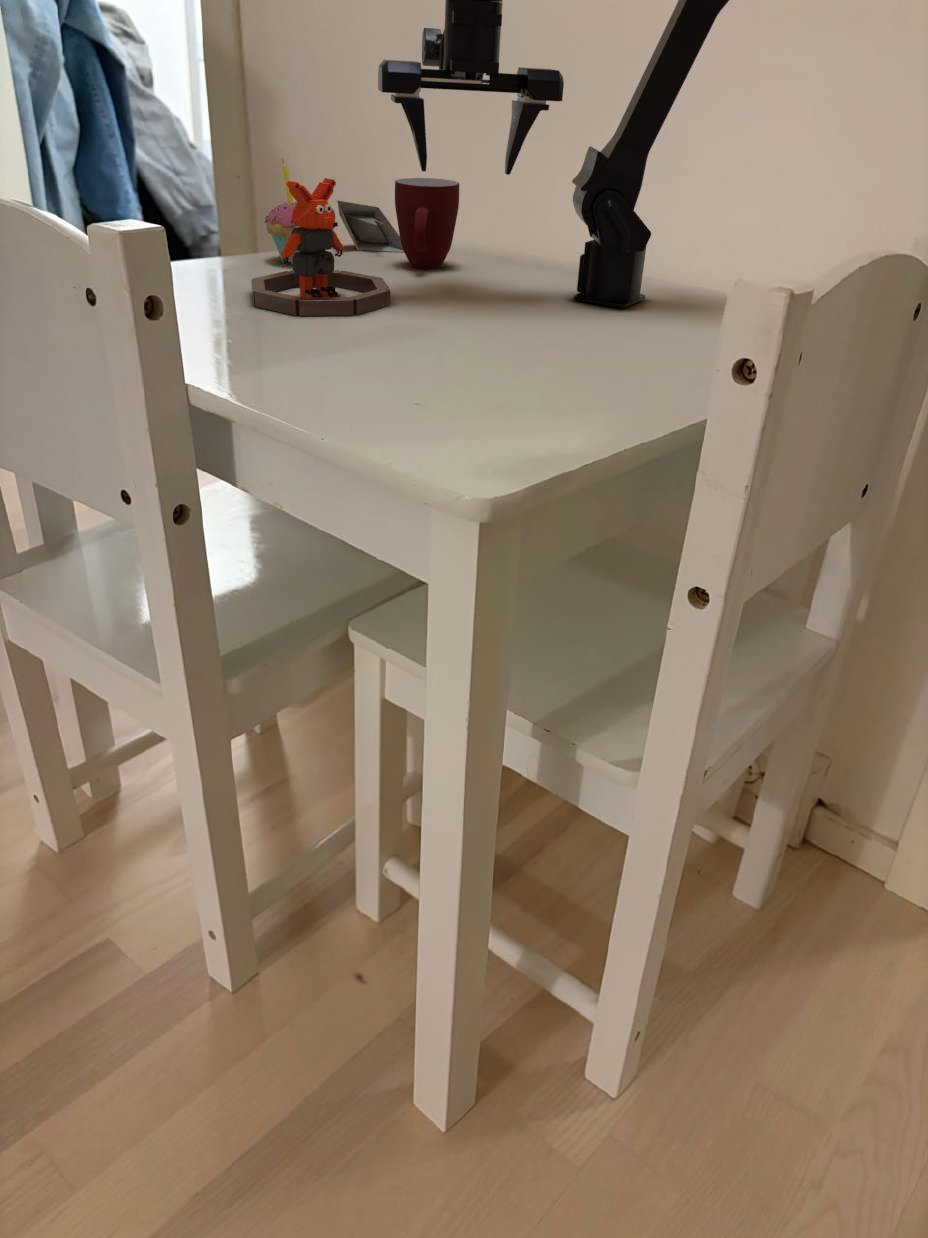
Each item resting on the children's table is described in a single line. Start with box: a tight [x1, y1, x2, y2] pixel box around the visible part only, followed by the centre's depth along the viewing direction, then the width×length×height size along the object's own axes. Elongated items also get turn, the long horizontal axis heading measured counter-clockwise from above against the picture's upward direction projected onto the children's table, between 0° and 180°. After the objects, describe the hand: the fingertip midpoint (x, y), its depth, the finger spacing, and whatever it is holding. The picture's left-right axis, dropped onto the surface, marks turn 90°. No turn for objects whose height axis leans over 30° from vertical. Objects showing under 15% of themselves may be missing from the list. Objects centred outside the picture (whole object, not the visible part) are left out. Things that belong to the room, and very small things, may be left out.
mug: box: [394, 177, 460, 270], centre depth 120 cm, size 10×8×10 cm
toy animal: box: [281, 177, 345, 298], centre depth 103 cm, size 8×6×12 cm
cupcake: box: [264, 157, 335, 266], centre depth 120 cm, size 9×8×12 cm
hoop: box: [250, 269, 391, 317], centre depth 105 cm, size 15×15×2 cm
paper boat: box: [336, 200, 404, 253], centre depth 129 cm, size 12×6×9 cm
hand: (465, 172), depth 103 cm, fingers open, 9 cm apart
